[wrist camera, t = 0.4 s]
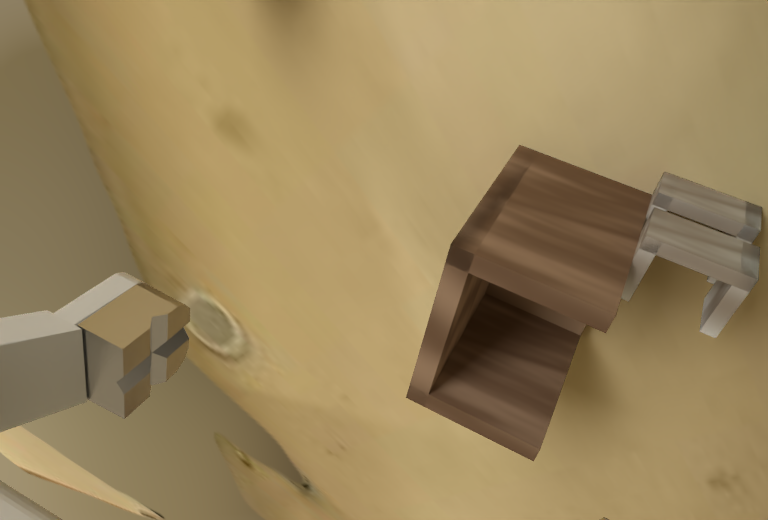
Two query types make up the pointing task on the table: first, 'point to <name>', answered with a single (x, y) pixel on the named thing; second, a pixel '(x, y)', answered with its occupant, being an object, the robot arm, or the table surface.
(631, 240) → the cabinet
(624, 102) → the table surface
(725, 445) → the table surface
